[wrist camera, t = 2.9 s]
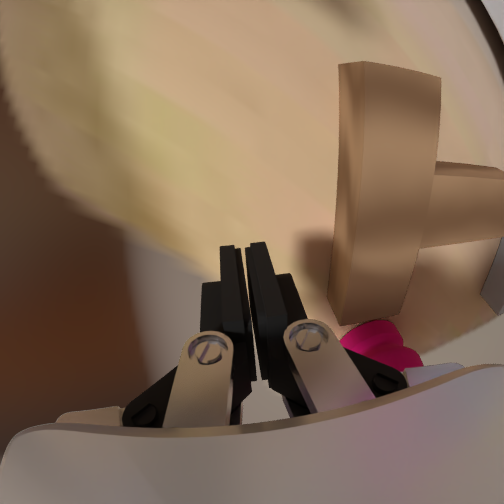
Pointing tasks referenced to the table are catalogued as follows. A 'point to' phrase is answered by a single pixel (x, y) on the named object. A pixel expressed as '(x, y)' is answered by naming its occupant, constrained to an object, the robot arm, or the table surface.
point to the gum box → (496, 14)
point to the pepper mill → (381, 345)
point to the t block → (398, 189)
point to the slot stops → (495, 282)
